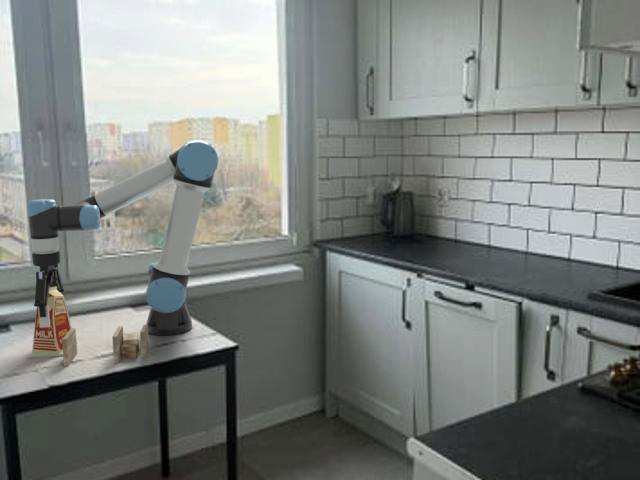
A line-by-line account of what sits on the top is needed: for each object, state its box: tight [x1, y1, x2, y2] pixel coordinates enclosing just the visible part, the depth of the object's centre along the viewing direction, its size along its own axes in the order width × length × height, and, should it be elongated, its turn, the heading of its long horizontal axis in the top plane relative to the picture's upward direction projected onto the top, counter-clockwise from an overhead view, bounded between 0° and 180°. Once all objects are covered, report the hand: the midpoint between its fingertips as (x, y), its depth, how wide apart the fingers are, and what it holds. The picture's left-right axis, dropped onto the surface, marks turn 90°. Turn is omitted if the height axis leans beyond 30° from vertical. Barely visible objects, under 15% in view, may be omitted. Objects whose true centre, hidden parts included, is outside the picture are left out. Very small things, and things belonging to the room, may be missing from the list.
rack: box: [62, 324, 150, 367], centre depth 176 cm, size 22×10×8 cm, turn 99°
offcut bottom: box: [121, 345, 141, 359], centre depth 180 cm, size 4×6×2 cm, turn 5°
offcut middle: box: [121, 338, 140, 353], centre depth 179 cm, size 4×6×2 cm, turn 7°
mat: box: [28, 340, 78, 359], centre depth 183 cm, size 11×11×1 cm
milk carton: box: [31, 286, 72, 354], centre depth 182 cm, size 9×9×20 cm
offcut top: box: [123, 332, 139, 347], centre depth 179 cm, size 4×6×2 cm, turn 17°
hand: (51, 320), depth 182 cm, fingers open, 13 cm apart
